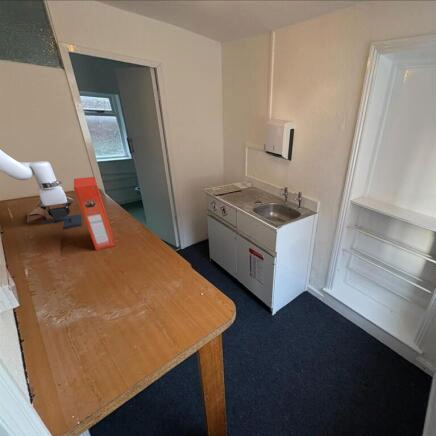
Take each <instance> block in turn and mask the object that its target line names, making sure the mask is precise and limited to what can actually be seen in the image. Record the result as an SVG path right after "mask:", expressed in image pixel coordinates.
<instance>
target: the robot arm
mask: <svg viewBox="0 0 436 436" xmlns="http://www.w3.org/2000/svg"><path fill="white" fill-rule="evenodd" d="M0 172H2V173H3V174H4V175H7V176H8V177H10V178H13V179H15V180H17V181H27V180H29V179H32V177H33V176H34V178H35V181H36V183H37V185H38V187H37V190H38V196H39V198H40V199H39V201H38V202H37V203H36V204H35V206H36V208H39V207H40V208H42V209H44V211H46V212H47V215H48V216H50V217H51V218H53V217H52V214H51V209H52V208H51V206H58V205H63V207H65V210H66V212H67V214H68V215H70V213H71V210H70V206H71V205H72V203H73V202H74V201H75V200H74V199H73V198H71V197H69V196H67V194H66V192H65V190H64V188H63V187H62V181H58V180H57V177H56V175H55V173H54V169H53V167H52V164H51V163H50V162H49V161H45V160H43V161H42V160H41V161H33V162H28V161H25V162H24V161H18V160H16V159H15V158H13V157H12V156H10V155H8V154H7V153H6V152H4V151H3V150H2V149H0Z"/></svg>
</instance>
